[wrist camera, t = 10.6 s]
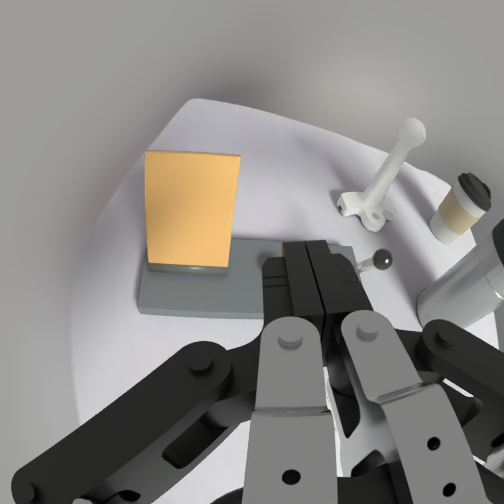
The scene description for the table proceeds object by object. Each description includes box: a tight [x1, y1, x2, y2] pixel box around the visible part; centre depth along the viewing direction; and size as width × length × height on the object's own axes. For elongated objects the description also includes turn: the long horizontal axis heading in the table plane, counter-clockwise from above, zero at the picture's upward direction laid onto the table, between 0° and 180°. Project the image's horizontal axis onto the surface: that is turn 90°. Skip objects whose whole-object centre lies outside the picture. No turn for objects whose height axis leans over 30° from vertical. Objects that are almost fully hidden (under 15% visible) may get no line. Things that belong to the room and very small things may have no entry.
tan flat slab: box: [145, 150, 241, 276], centre depth 28 cm, size 9×2×14 cm, turn 93°
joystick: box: [337, 117, 426, 232], centre depth 37 cm, size 11×8×20 cm
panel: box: [137, 239, 362, 319], centre depth 34 cm, size 28×10×2 cm, turn 93°
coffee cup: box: [429, 173, 491, 245], centre depth 42 cm, size 9×9×15 cm
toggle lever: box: [353, 249, 393, 274], centre depth 30 cm, size 3×2×10 cm
